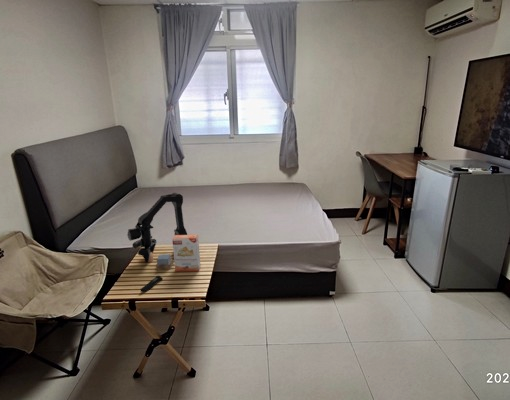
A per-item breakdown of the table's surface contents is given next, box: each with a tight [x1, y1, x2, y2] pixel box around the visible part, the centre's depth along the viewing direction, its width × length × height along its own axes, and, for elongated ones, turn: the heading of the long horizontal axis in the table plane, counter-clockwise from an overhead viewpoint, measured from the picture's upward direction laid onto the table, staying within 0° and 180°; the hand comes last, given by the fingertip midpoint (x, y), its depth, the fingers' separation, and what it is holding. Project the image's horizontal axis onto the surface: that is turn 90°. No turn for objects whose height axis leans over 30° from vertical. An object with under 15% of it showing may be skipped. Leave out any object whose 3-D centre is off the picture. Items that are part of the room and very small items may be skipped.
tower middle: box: [156, 253, 172, 265], centre depth 188 cm, size 6×6×4 cm
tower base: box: [155, 258, 174, 271], centre depth 189 cm, size 8×8×4 cm
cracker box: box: [171, 234, 201, 272], centre depth 183 cm, size 14×6×21 cm, turn 89°
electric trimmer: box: [140, 275, 163, 293], centre depth 168 cm, size 4×16×3 cm, turn 159°
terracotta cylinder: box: [144, 252, 154, 263], centre depth 198 cm, size 5×5×5 cm
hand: (149, 259), depth 198 cm, fingers open, 9 cm apart
